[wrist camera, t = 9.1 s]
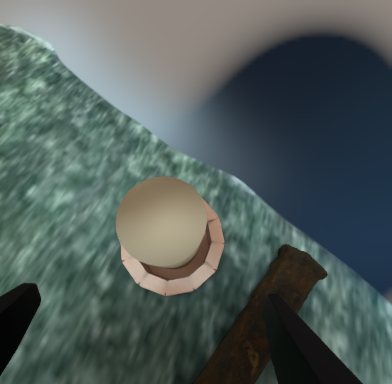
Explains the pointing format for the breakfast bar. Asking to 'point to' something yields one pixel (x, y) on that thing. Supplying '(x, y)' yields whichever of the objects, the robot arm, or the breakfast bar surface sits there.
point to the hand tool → (261, 319)
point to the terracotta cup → (187, 276)
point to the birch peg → (162, 222)
